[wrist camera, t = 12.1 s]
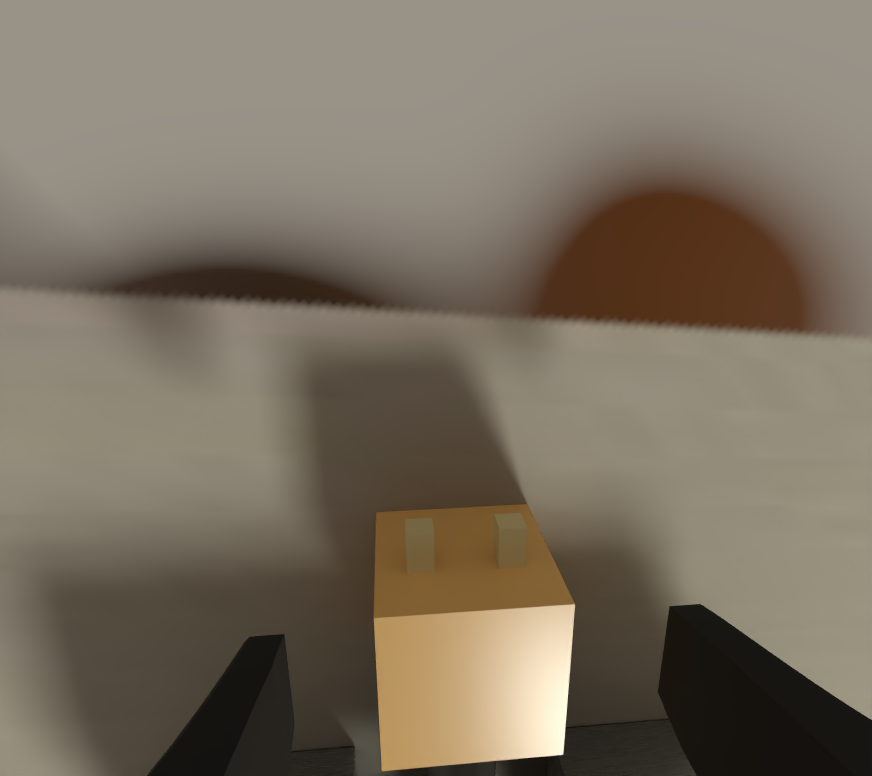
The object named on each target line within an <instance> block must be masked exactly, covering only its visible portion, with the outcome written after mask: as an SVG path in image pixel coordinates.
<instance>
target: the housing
mask: <svg viewBox="0 0 872 776" xmlns="http://www.w3.org/2000/svg"><path fill="white" fill-rule="evenodd" d="M288 776H357V771H356V757H355V747H347V748H336V749H324V750H313V751H301V752H291V758H290V766H289V774H288ZM547 776H697V775H696V774H695V772H694V770H693V768H692V766H691V765H690V763H689V761H688V759H687V757H686V755H685V753H684V752H683V750H682V748H681V746H680V743H679V741H678V739H677V736H676V734H675V732H674V730H673V727H672V725H671V723H670V720H657V721H646V722H634V723H623V724H611V725H600V726H588V727H577V728H565V739H564V751H563V755H554V756H548V767H547Z"/></svg>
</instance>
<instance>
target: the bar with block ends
mask: <svg viewBox="0 0 872 776" xmlns="http://www.w3.org/2000/svg"><path fill="white" fill-rule="evenodd" d="M574 612H575V603H574V601H573V599H572V597H571V595H570V593H569V591H568V588H567V586H566V584H565V582H564V580H563V578H562V576H561V574H560V572H559V570H558V567H557V565H556V563H555V561H554V559H553V557H552V555H551V553H550V551H549V549H548V547H547V544H546V542H545V540H544V538H543V536H542V534H541V532H540V530H539V528H538V526H537V524H536V521H535V519H534V517H533V515H532V513H531V511H530V509H529V507H528V505H527V504H519V505H500V506H482V507H463V508H445V509H426V510H408V511H389V512H376V537H375V583H374V632H375V651H376V670H377V689H378V707H379V726H380V745H381V764H382V771H389V770H400V769H411V768H422V767H428V776H495V764H496V761H499V760H510V759H521V758H532V757H543V756H554V755H563V751H564V739H565V726H566V713H567V700H568V688H569V675H570V662H571V650H572V637H573V624H574Z"/></svg>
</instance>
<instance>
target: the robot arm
mask: <svg viewBox="0 0 872 776" xmlns="http://www.w3.org/2000/svg"><path fill="white" fill-rule="evenodd" d="M658 693H659V696H660V698H661V700H662V703H663V705H664V708H665V710H666V713H667V715H668V718H669V720H670V723H671V725H672V727H673V730H674V732H675V734H676V736H677V739H678V741H679V743H680V746H681V748H682V750H683V752H684V753H685V755H686V757H687V759H688V761H689V763H690V765H691V766H692V768H693V770H694V772H695V774H696V775H697V776H872V720H871V719H869V718H867V717H866V716H864V715H863V714H861V713H859V712H858V711H856V710H855V709H853V708H852V707H850V706H848V705H847V704H845V703H844V702H842V701H841V700H839V699H838V698H836V697H835V696H833V695H832V694H830V693H829V692H827V691H826V690H824V689H823V688H821V687H820V686H818V685H817V684H815V683H814V682H812V681H811V680H809V679H808V678H806V677H805V676H803V675H802V674H801V673H799V672H798V671H796V670H795V669H793V668H792V667H790V666H789V665H787V664H786V663H785V662H783V661H782V660H780V659H779V658H777V657H776V656H775V655H773V654H772V653H770V652H769V651H768V650H766V649H765V648H763V647H762V646H760V645H759V644H758V643H756V642H755V641H753V640H752V639H751V638H749V637H748V636H746V635H745V634H744V633H742V632H741V631H739V630H738V629H736V628H735V627H734V626H732V625H731V624H729V623H728V622H726V621H725V620H724V619H722V618H721V617H719V616H718V615H716V614H715V613H713V612H712V611H710V610H709V609H707V608H706V607H704V606H703V605H701V604H695V605H682V606H670V607H669V615H668V622H667V629H666V636H665V644H664V651H663V658H662V666H661V673H660V680H659V688H658ZM293 730H294V716H293V707H292V698H291V689H290V680H289V671H288V662H287V654H286V645H285V636H284V634H282V635H268V636H254V637H249V638H248V639H247V640H246V641H245V642H244V643H243V645H242V647H241V648H240V650H239V651H238V653H237V654H236V656H235V657H234V659H233V660H232V662H231V663H230V665H229V666H228V668H227V669H226V671H225V672H224V674H223V675H222V677H221V678H220V679H219V681H218V682H217V684H216V685H215V687H214V688H213V689H212V691H211V692H210V694H209V695H208V697H207V698H206V699H205V701H204V702H203V704H202V705H201V706H200V708H199V709H198V710H197V712H196V713H195V714H194V716H193V717H192V718H191V720H190V721H189V722H188V724H187V725H186V726H185V728H184V729H183V731H182V732H181V733H180V735H179V736H178V737H177V739H176V740H175V741H174V743H173V744H172V745H171V746H170V748H169V749H168V750H167V752H166V753H165V754H164V755H163V756H162V758H161V759H160V760H159V761H158V763H157V764H156V765H155V766H154V768H153V769H152V770H151V771H150V772H149V774H148V775H147V776H288V774H289V766H290V758H291V749H292V739H293Z"/></svg>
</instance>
